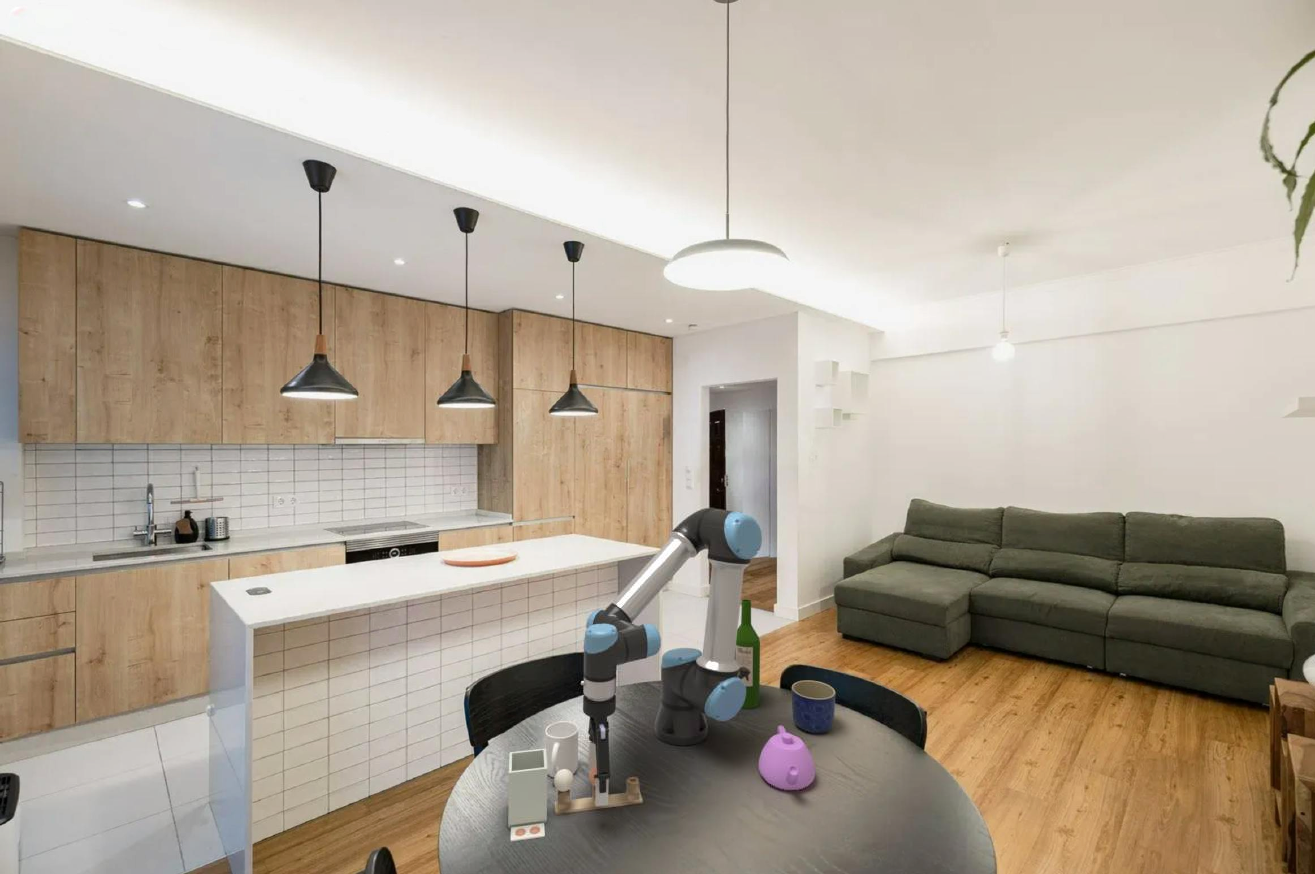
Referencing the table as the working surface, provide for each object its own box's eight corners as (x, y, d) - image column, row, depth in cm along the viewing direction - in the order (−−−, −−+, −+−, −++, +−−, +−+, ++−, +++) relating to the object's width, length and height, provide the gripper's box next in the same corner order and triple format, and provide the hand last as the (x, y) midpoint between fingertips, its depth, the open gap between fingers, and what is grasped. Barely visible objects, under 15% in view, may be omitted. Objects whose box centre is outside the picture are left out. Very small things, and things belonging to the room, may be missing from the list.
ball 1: (572, 782, 135) (572, 763, 135) (574, 794, 131) (574, 774, 131) (553, 785, 134) (553, 766, 134) (554, 796, 130) (554, 777, 130)
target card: (544, 824, 127) (544, 822, 127) (544, 836, 123) (544, 834, 123) (511, 828, 125) (511, 827, 125) (510, 841, 121) (510, 839, 121)
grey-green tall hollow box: (545, 799, 135) (545, 748, 135) (546, 822, 127) (547, 768, 127) (509, 804, 134) (509, 752, 133) (508, 828, 126) (508, 772, 125)
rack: (639, 793, 138) (639, 774, 138) (642, 802, 135) (642, 783, 135) (554, 804, 134) (554, 785, 134) (555, 814, 130) (555, 795, 130)
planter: (800, 711, 179) (801, 676, 179) (840, 724, 172) (841, 687, 172) (784, 728, 169) (784, 691, 169) (826, 742, 162) (826, 703, 162)
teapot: (764, 803, 135) (765, 758, 135) (754, 755, 155) (754, 715, 155) (824, 806, 134) (825, 760, 134) (806, 757, 154) (807, 717, 154)
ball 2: (606, 778, 137) (607, 759, 137) (609, 789, 132) (609, 770, 132) (588, 780, 136) (588, 762, 136) (590, 792, 131) (590, 773, 131)
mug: (568, 790, 139) (569, 747, 139) (535, 787, 140) (535, 744, 140) (581, 761, 151) (581, 722, 151) (550, 759, 152) (551, 720, 152)
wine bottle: (730, 707, 181) (731, 603, 181) (731, 694, 190) (732, 595, 190) (759, 710, 180) (760, 605, 179) (759, 697, 189) (760, 597, 188)
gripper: (578, 673, 145) (576, 758, 145) (589, 722, 121) (587, 823, 121) (608, 671, 147) (606, 754, 147) (624, 718, 122) (622, 819, 123)
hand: (597, 786), depth 134 cm, fingers open, 13 cm apart
